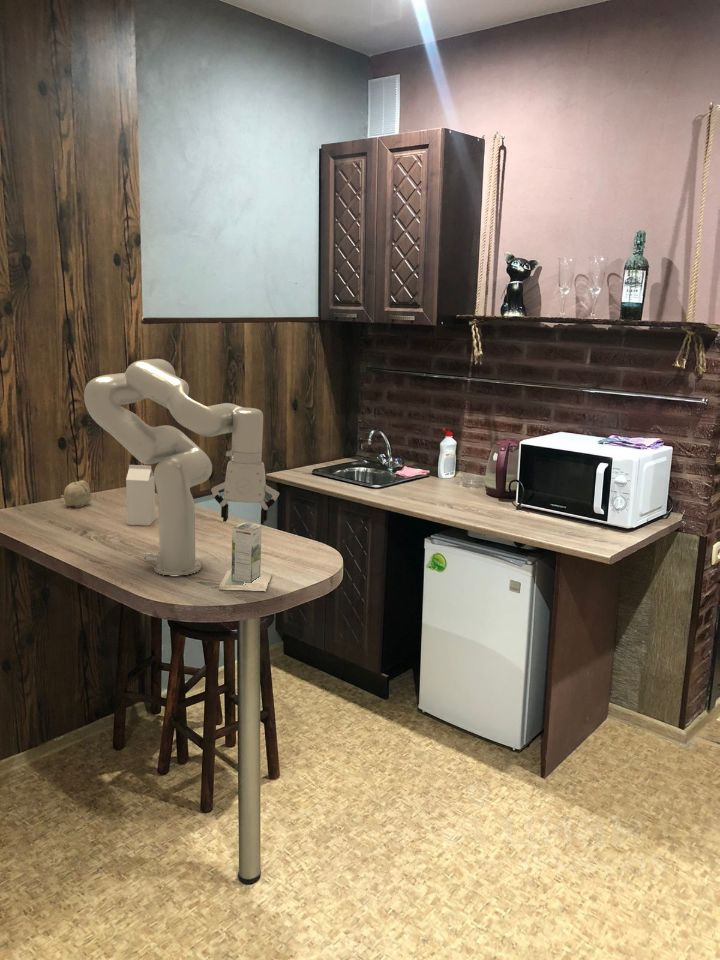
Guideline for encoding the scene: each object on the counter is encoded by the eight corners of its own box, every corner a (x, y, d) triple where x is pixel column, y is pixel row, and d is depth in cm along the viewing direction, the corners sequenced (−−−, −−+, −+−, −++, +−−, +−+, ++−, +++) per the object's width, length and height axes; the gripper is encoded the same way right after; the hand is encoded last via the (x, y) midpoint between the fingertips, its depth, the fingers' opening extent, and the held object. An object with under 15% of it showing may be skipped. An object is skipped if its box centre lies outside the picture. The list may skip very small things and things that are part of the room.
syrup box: (241, 573, 212) (241, 521, 208) (261, 577, 210) (261, 524, 207) (231, 580, 206) (231, 527, 203) (251, 584, 205) (251, 530, 201)
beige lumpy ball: (89, 510, 277) (98, 483, 277) (82, 513, 269) (92, 485, 268) (63, 501, 276) (72, 474, 276) (55, 503, 268) (65, 476, 268)
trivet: (219, 590, 203) (219, 586, 202) (227, 573, 214) (227, 570, 214) (266, 592, 203) (266, 588, 202) (272, 575, 214) (272, 572, 214)
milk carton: (149, 526, 254) (148, 468, 250) (127, 525, 254) (125, 467, 250) (155, 520, 261) (154, 463, 257) (133, 519, 261) (132, 462, 257)
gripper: (209, 457, 197) (207, 523, 201) (278, 463, 197) (275, 528, 201) (215, 451, 204) (213, 515, 209) (282, 456, 204) (279, 520, 209)
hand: (244, 521), depth 205 cm, fingers open, 9 cm apart
